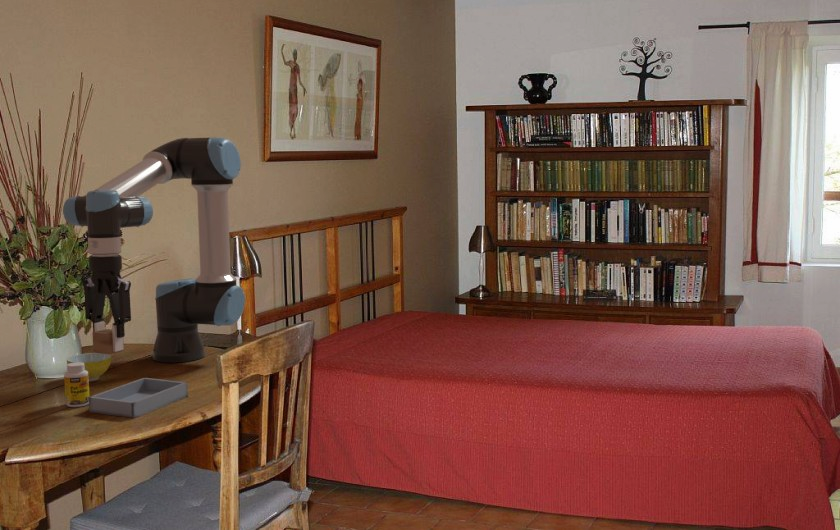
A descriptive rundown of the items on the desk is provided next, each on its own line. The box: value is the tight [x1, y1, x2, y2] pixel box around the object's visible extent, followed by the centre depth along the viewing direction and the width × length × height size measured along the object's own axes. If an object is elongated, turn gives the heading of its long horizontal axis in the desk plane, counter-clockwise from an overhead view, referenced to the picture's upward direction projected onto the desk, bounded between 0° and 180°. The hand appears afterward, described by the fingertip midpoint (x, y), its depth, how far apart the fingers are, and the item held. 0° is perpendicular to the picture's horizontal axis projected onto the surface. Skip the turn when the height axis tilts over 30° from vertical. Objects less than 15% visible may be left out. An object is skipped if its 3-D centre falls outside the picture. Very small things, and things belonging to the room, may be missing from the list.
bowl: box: [66, 352, 112, 383], centre depth 248 cm, size 11×12×6 cm
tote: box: [88, 377, 189, 419], centre depth 224 cm, size 20×14×4 cm
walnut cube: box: [92, 328, 125, 355], centre depth 223 cm, size 5×5×5 cm
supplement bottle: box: [63, 362, 91, 408], centre depth 224 cm, size 6×6×10 cm
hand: (109, 349), depth 223 cm, fingers closed on walnut cube, 5 cm apart
